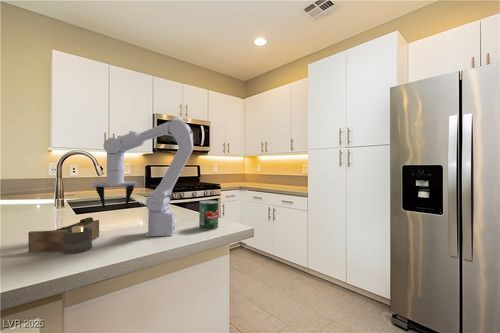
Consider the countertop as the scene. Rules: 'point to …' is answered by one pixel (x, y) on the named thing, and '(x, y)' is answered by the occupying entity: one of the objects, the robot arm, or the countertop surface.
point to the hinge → (63, 239)
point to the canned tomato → (208, 215)
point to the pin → (77, 229)
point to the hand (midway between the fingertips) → (115, 206)
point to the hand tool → (78, 224)
